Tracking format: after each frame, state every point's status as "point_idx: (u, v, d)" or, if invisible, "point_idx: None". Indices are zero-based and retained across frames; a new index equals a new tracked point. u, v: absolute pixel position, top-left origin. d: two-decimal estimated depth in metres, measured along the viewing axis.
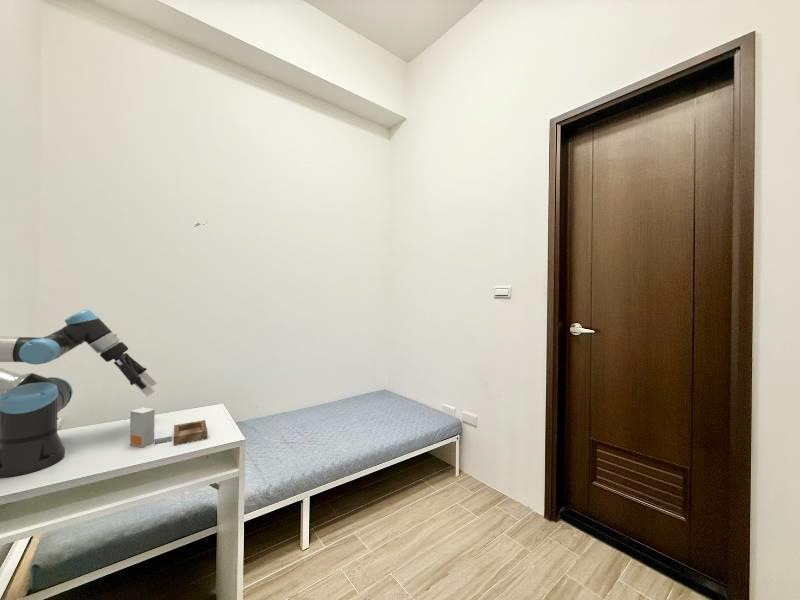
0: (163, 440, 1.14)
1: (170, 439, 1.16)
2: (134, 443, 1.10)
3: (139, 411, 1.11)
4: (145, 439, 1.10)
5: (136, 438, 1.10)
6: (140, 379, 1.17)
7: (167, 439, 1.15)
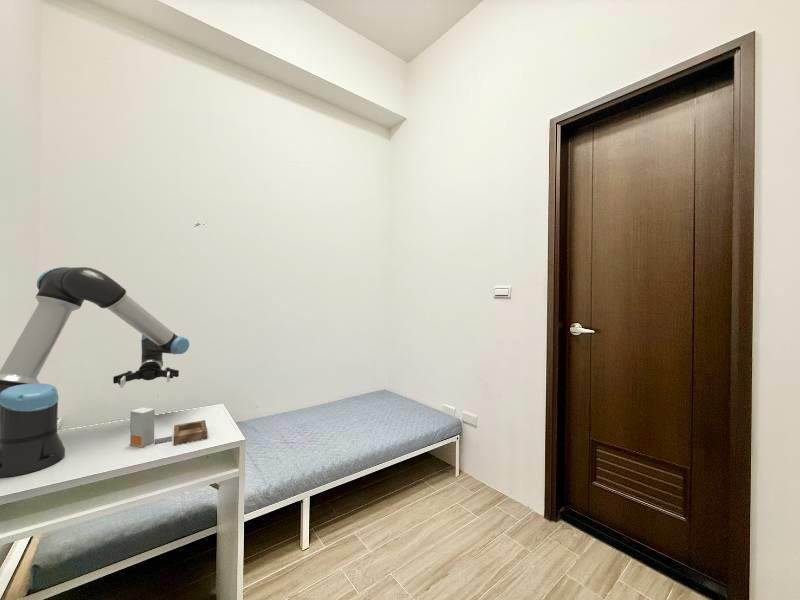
0: (163, 440, 1.14)
1: (170, 439, 1.16)
2: (134, 443, 1.10)
3: (139, 411, 1.11)
4: (145, 439, 1.10)
5: (136, 438, 1.10)
6: None
7: (167, 439, 1.15)
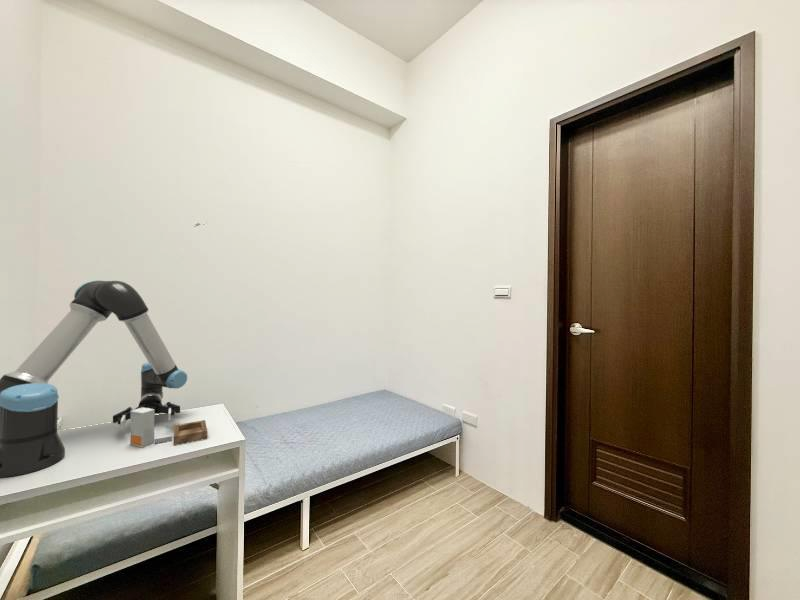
0: (163, 440, 1.14)
1: (170, 439, 1.16)
2: (134, 443, 1.10)
3: (139, 411, 1.11)
4: (145, 439, 1.10)
5: (136, 438, 1.10)
6: None
7: (167, 439, 1.15)
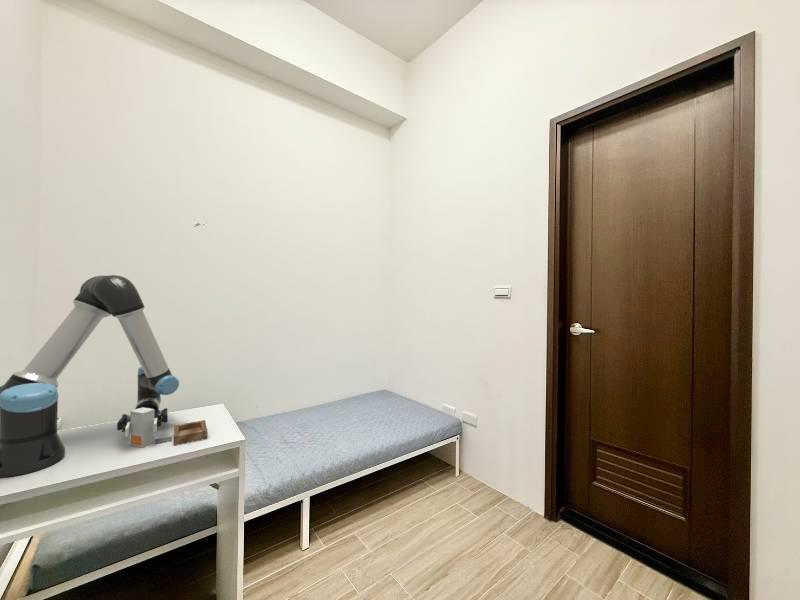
0: (163, 440, 1.14)
1: (170, 439, 1.16)
2: (134, 443, 1.10)
3: (139, 411, 1.11)
4: (145, 439, 1.10)
5: (136, 438, 1.10)
6: None
7: (167, 439, 1.15)
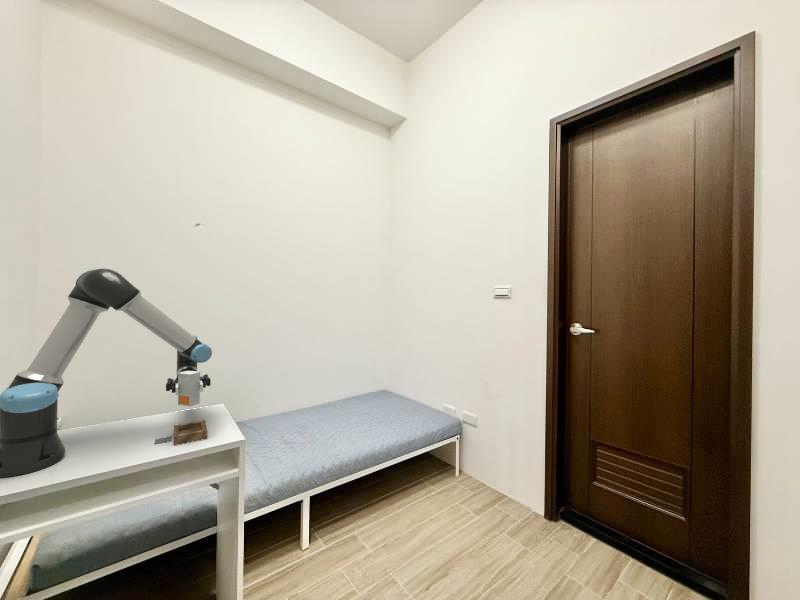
0: (163, 440, 1.14)
1: (170, 439, 1.16)
2: (182, 403, 1.17)
3: (186, 373, 1.18)
4: (192, 399, 1.17)
5: (184, 398, 1.17)
6: None
7: (167, 439, 1.15)
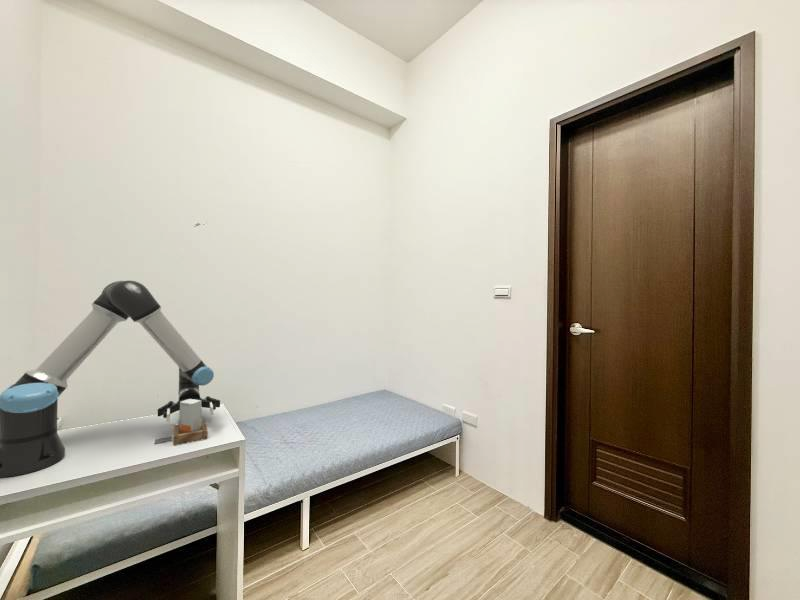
0: (163, 440, 1.14)
1: (170, 439, 1.16)
2: (183, 432, 1.18)
3: (188, 402, 1.18)
4: (194, 429, 1.17)
5: (185, 428, 1.17)
6: None
7: (167, 439, 1.15)
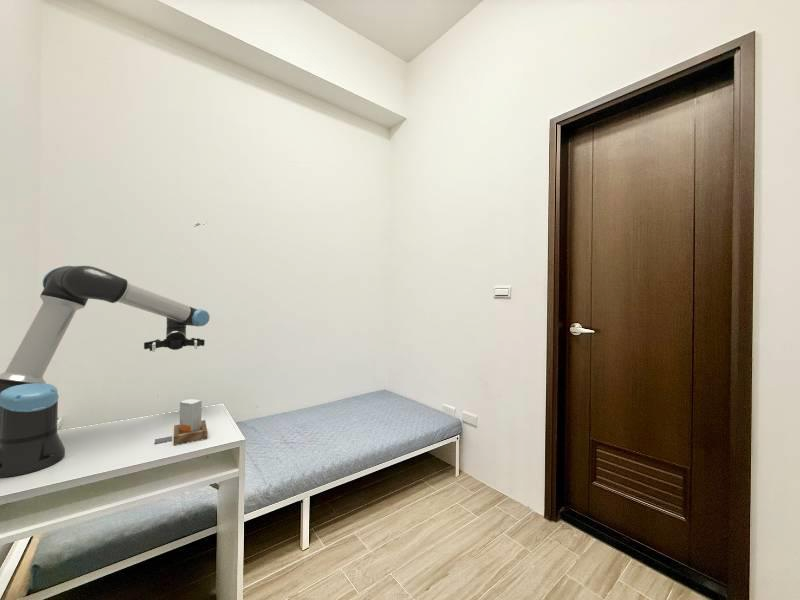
0: (163, 440, 1.14)
1: (170, 439, 1.16)
2: (183, 432, 1.18)
3: (188, 402, 1.18)
4: (194, 428, 1.17)
5: (185, 428, 1.17)
6: None
7: (167, 439, 1.15)
